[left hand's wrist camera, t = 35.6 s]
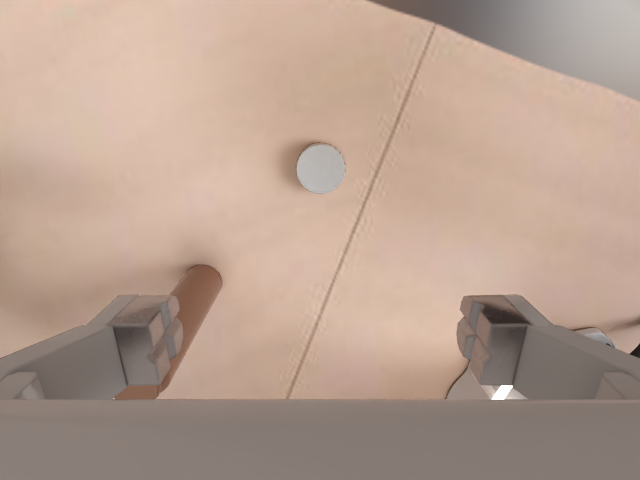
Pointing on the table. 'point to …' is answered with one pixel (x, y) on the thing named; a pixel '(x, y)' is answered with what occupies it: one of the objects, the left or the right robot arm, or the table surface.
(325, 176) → the lid
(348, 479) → the left robot arm
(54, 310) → the table surface
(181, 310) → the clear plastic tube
